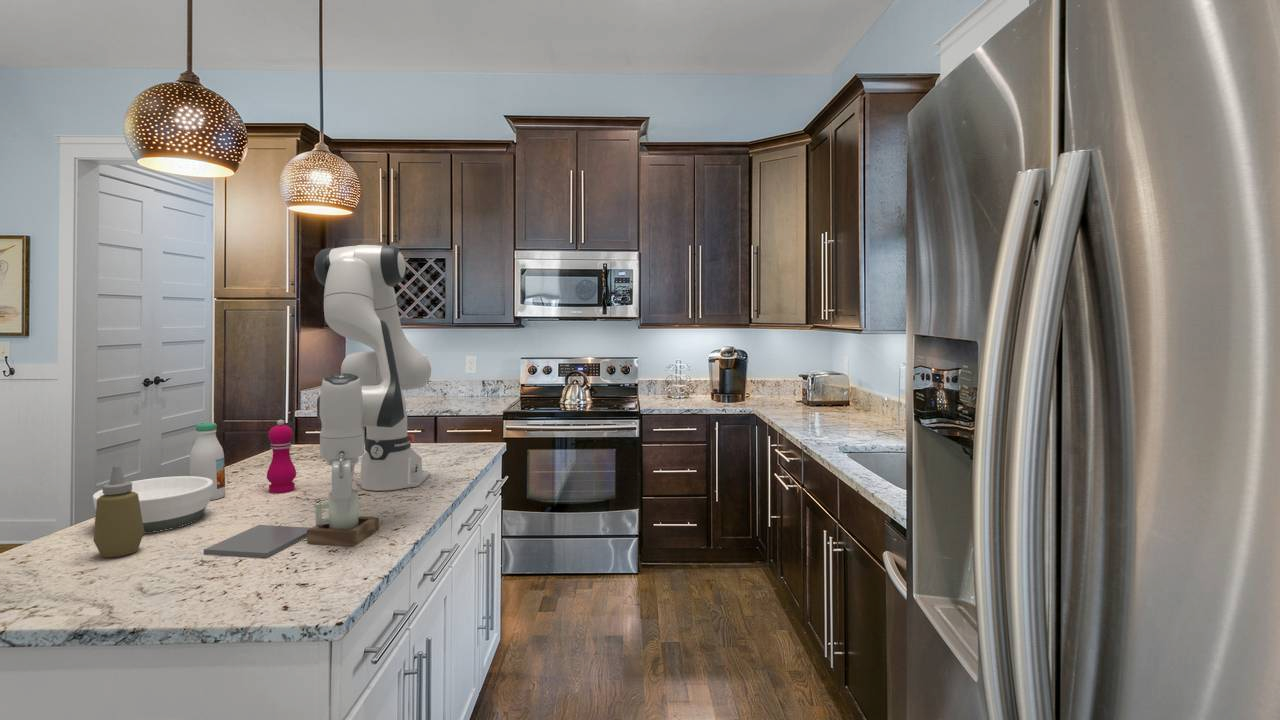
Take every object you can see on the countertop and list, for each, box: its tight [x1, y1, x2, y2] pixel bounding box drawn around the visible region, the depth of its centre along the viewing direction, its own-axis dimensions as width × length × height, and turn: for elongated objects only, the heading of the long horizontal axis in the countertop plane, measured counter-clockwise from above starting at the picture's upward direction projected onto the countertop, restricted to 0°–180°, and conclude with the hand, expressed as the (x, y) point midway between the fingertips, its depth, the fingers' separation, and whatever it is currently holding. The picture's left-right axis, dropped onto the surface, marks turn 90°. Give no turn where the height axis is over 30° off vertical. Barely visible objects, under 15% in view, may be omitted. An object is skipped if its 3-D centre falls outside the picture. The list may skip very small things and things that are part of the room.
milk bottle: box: [189, 422, 226, 501], centre depth 170 cm, size 8×8×20 cm
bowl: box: [92, 475, 213, 533], centre depth 150 cm, size 22×22×8 cm
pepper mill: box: [266, 419, 297, 494], centre depth 178 cm, size 7×7×20 cm
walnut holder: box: [306, 516, 380, 547], centre depth 141 cm, size 10×10×3 cm
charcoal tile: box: [203, 524, 312, 559], centre depth 137 cm, size 16×14×1 cm
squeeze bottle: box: [93, 465, 145, 558], centre depth 130 cm, size 8×8×18 cm
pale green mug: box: [315, 488, 360, 530], centre depth 141 cm, size 8×6×10 cm
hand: (343, 509), depth 141 cm, fingers open, 8 cm apart
